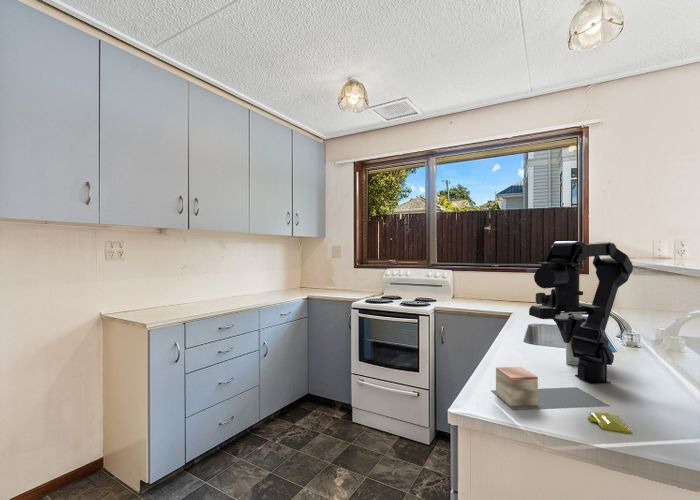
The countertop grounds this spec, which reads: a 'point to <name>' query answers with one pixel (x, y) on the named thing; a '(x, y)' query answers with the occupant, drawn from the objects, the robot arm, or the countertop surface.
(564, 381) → the countertop surface
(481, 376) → the countertop surface
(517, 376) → the birch cube
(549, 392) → the charcoal mat
